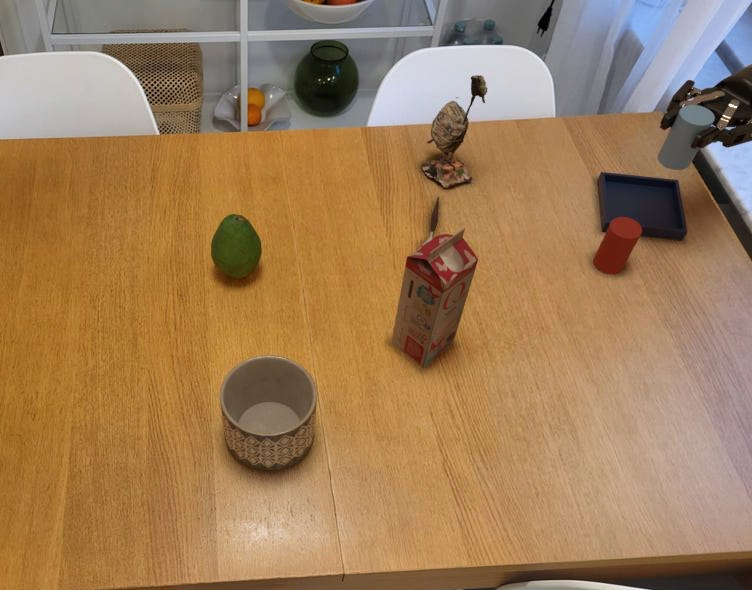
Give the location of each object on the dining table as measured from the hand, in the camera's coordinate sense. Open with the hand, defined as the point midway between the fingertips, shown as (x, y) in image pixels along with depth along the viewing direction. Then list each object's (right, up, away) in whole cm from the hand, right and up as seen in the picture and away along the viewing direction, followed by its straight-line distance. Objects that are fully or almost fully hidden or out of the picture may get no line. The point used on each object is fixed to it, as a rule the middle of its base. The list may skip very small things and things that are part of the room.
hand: (679, 133), depth 109 cm
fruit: (-65, -18, +15) cm, 69 cm away
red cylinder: (-4, -17, +15) cm, 23 cm away
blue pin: (+2, -2, +6) cm, 7 cm away
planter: (-60, -44, -3) cm, 74 cm away
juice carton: (-36, -30, +6) cm, 48 cm away
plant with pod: (-28, +3, +29) cm, 40 cm away
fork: (-32, -10, +20) cm, 39 cm away
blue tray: (+5, -6, +22) cm, 23 cm away
